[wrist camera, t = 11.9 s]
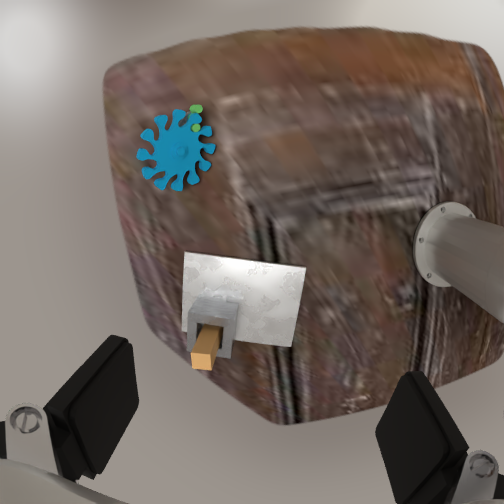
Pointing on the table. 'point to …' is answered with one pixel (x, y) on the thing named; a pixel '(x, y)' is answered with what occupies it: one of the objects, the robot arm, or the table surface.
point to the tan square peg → (206, 347)
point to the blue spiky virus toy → (177, 148)
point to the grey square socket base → (240, 299)
